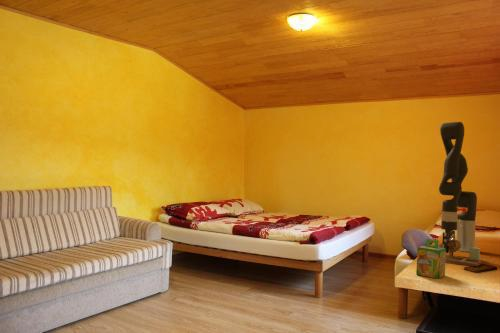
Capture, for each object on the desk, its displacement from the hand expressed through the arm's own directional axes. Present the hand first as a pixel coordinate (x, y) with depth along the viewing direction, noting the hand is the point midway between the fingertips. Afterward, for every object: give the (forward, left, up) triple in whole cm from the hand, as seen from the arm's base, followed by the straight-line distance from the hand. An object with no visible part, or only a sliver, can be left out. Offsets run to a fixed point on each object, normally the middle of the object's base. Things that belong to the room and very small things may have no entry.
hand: (448, 251), depth 220 cm
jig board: (+13, +6, -2) cm, 14 cm away
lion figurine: (-1, 0, -3) cm, 3 cm away
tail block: (+1, +12, -2) cm, 13 cm away
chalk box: (+52, +6, -3) cm, 52 cm away
